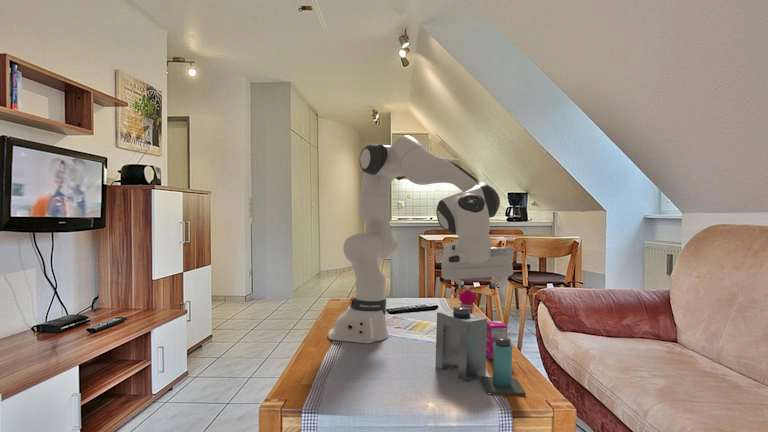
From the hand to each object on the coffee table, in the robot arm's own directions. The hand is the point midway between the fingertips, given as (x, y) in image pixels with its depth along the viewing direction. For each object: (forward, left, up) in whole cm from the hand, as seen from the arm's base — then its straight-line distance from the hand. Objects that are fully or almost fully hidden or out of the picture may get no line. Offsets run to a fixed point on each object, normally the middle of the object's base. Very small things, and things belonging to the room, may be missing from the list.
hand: (477, 286), depth 130 cm
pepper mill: (+2, +33, -26) cm, 42 cm away
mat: (+6, -9, -26) cm, 28 cm away
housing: (-4, +1, -26) cm, 26 cm away
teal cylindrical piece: (+6, -9, -25) cm, 27 cm away
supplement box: (+9, +15, -26) cm, 31 cm away
